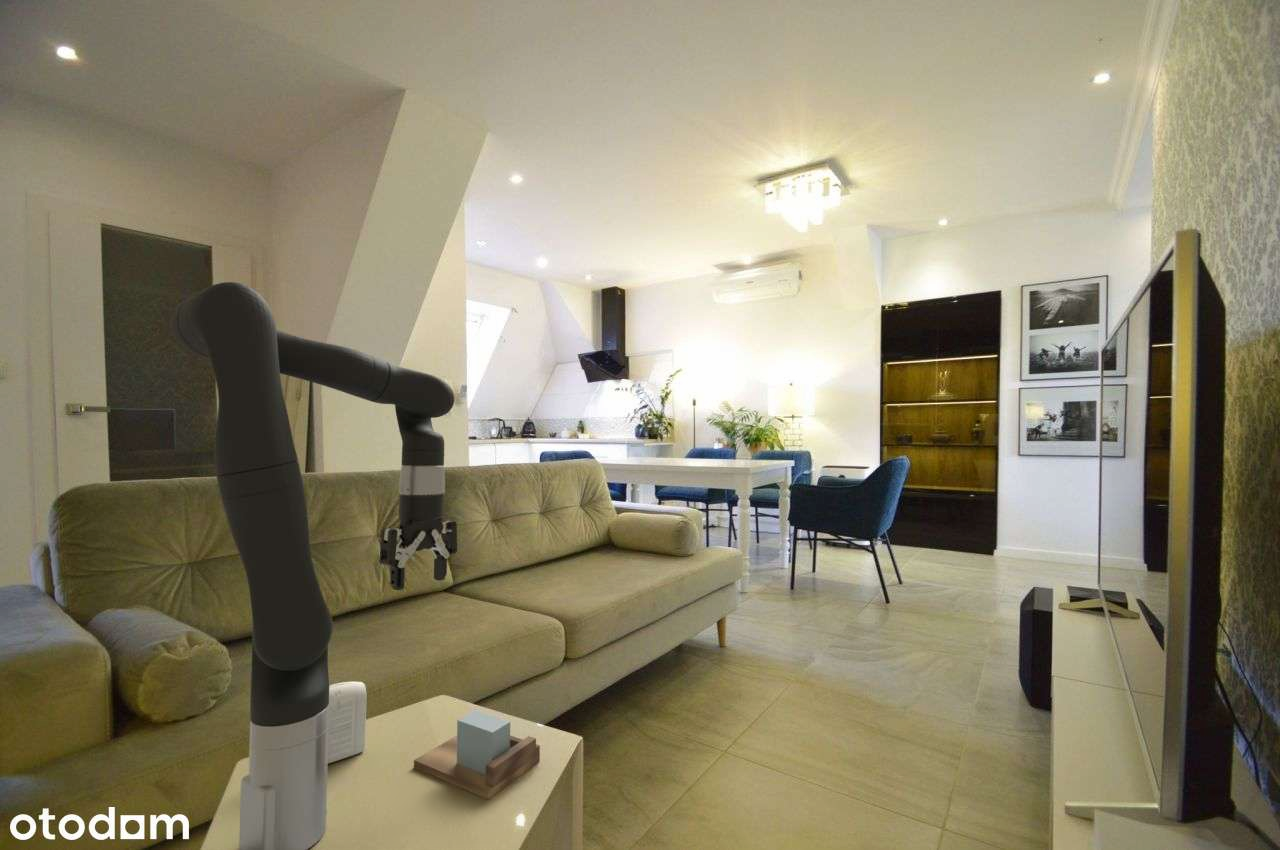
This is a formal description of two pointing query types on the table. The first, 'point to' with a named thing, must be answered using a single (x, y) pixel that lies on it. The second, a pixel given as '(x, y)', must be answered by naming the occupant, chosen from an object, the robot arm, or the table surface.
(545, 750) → the table surface
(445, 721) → the table surface
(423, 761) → the board
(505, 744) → the tall pale blue block
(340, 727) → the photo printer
